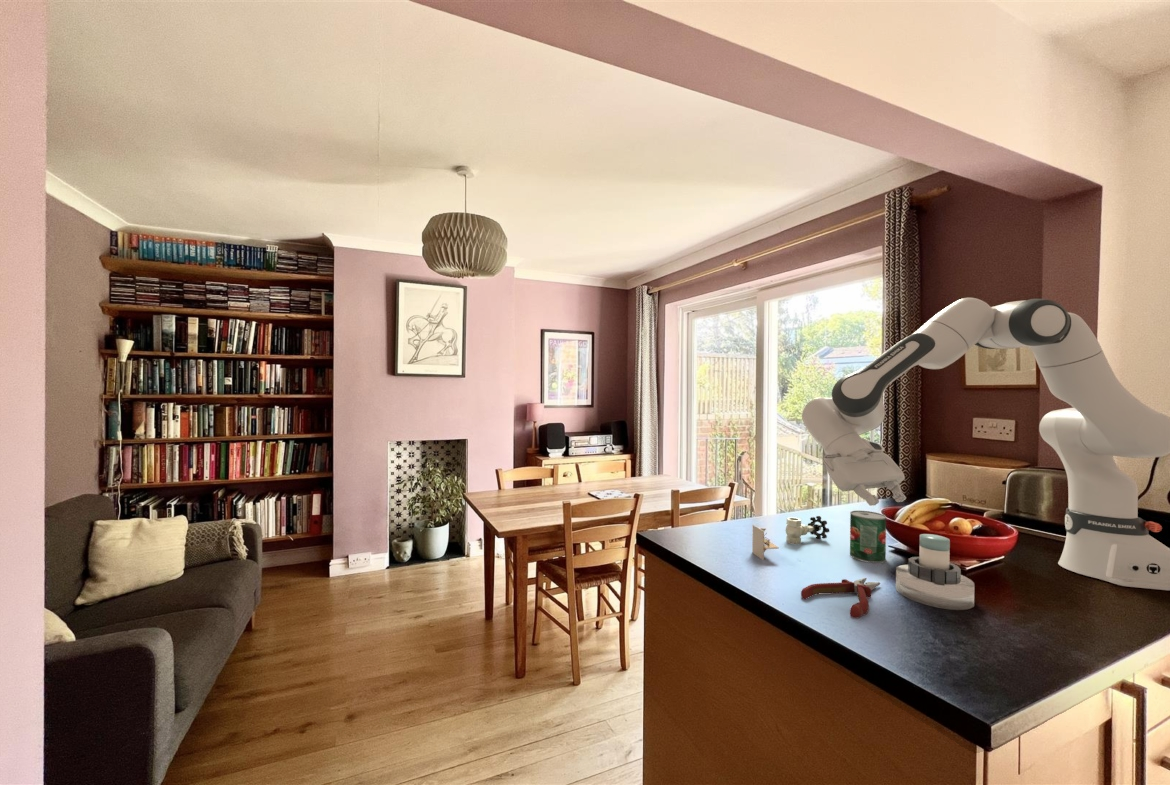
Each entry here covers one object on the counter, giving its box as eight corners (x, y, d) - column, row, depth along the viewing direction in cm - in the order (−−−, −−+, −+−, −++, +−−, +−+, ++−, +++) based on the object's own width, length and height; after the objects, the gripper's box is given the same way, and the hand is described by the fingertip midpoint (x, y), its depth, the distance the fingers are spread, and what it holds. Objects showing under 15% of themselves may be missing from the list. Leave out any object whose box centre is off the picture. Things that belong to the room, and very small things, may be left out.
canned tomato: (893, 563, 115) (893, 518, 115) (860, 562, 115) (861, 518, 115) (873, 552, 123) (874, 510, 123) (843, 551, 123) (844, 510, 123)
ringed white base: (960, 585, 102) (960, 553, 102) (983, 615, 88) (983, 578, 88) (889, 574, 108) (890, 544, 108) (901, 601, 94) (901, 566, 94)
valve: (797, 547, 127) (829, 542, 131) (797, 522, 127) (829, 518, 131) (778, 540, 133) (810, 535, 137) (779, 516, 133) (810, 513, 137)
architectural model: (764, 552, 122) (764, 524, 122) (778, 562, 115) (778, 532, 115) (752, 553, 122) (752, 524, 122) (765, 562, 115) (765, 532, 115)
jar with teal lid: (945, 574, 98) (946, 536, 98) (952, 582, 93) (952, 542, 93) (917, 569, 100) (917, 532, 100) (921, 578, 95) (922, 539, 95)
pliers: (902, 595, 97) (902, 583, 97) (857, 622, 86) (857, 608, 86) (845, 578, 107) (845, 566, 107) (798, 600, 95) (798, 587, 95)
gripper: (827, 446, 108) (867, 498, 99) (885, 444, 116) (927, 491, 107) (811, 463, 112) (848, 514, 103) (867, 459, 120) (906, 506, 111)
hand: (888, 502), depth 105 cm, fingers open, 8 cm apart
